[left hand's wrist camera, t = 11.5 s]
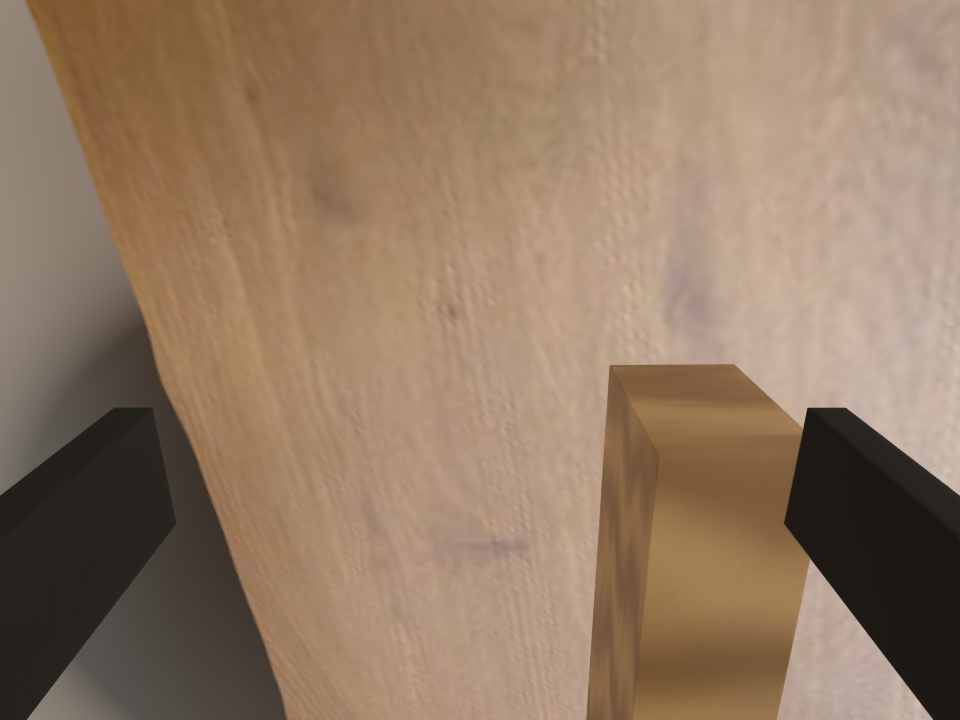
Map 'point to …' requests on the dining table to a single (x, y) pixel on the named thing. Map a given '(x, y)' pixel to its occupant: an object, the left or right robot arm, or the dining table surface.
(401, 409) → the dining table surface
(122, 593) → the left robot arm
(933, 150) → the dining table surface
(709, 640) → the box
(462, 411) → the dining table surface
